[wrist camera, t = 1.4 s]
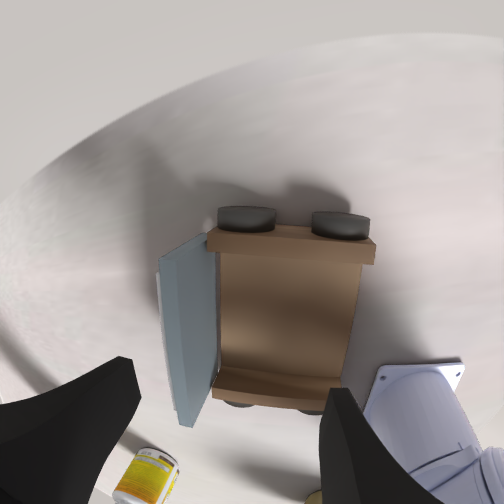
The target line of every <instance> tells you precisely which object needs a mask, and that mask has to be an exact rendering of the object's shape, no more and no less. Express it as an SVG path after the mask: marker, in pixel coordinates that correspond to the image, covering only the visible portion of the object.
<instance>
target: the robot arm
mask: <svg viewBox="0 0 504 504" xmlns="http://www.w3.org/2000/svg"><path fill="white" fill-rule="evenodd" d="M464 369H465V365H464V363H463V362H457V363H442V364H422V365H384V366H381V367H380V368H379V369H378V372H377V375H376V378H375V381H374V384H373V387H372V390H371V393H370V395H369V398H368V401H367V404H366V406H365V409H364V412H363V413H362V411H361V410H360V408H359V406H358V405H357V403H356V401H355V399H354V397H353V396H352V394H351V392H350V390H349V389H348V388H330V390H329V394H328V398H327V401H326V405H325V409H324V412H323V415H322V419H321V422H320V429H319V459H320V473H321V487H322V504H504V450H503V449H502V448H494V447H488V448H487V449H485V450H484V451H483V450H482V448H481V446H480V444H479V441H478V439H477V437H476V435H475V433H474V431H473V429H472V426H471V424H470V422H469V420H468V418H467V416H466V414H465V412H464V410H463V408H462V406H461V404H460V402H459V401H458V399H457V397H456V395H455V393H454V391H455V388H456V386H457V384H458V382H459V380H460V378H461V376H462V374H463V371H464ZM456 373H457V374H456ZM382 376H385V377H383V378H381V377H382ZM140 400H141V394H140V390H139V386H138V382H137V378H136V374H135V370H134V365H133V361H132V359H128V358H124V357H121V356H118V357H116V358H114V359H112V360H110V361H108V362H106V363H104V364H103V365H101V366H99V367H97V368H95V369H93V370H92V371H90V372H88V373H86V374H84V375H82V376H80V377H78V378H76V379H75V380H73V381H70V382H68V383H66V384H64V385H62V386H60V387H58V388H55V389H53V390H51V391H48V392H46V393H43V394H40V395H37V396H34V397H31V398H28V399H24V400H20V401H16V402H11V403H7V404H0V504H88V501H89V498H90V496H91V493H92V491H93V488H94V485H95V483H96V480H97V478H98V476H99V474H100V471H101V469H102V467H103V465H104V463H105V461H106V459H107V458H108V456H109V454H110V453H111V451H112V450H113V448H114V446H115V445H116V443H117V442H118V440H119V439H120V437H121V436H122V434H123V432H124V431H125V429H126V428H127V426H128V424H129V423H130V421H131V419H132V418H133V416H134V414H135V411H136V409H137V407H138V404H139V402H140Z"/></svg>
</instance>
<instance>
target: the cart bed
mask: <svg viewBox="0 0 504 504" xmlns="http://www.w3.org/2000/svg"><path fill="white" fill-rule="evenodd" d="M275 218H276V210H274V209H270V208H264V207H253V206H229V207H221V208H218V226H217V227H215V228H214V229H212V230H210V231H209V232H207V252H216V253H220V315H221V368H220V370H219V372H218V374H217V377H216V379H215V381H214V383H213V385H212V398H215V399H220V400H223V401H224V402H226V403H227V404H229V405H231V406H234V407H241V408H244V407H251V406H254V405H259V406H268V407H277V408H287V409H297V410H298V411H300V412H302V413H304V414H308V415H322V414H323V412H324V409H325V405H326V401H327V398H328V394H329V390H330V388H341V380H340V376H341V373H342V368H343V364H344V360H345V356H346V352H347V347H348V343H349V338H350V333H351V328H352V323H353V318H354V313H355V307H356V302H357V296H358V290H359V284H360V278H361V271H362V264H369V265H374V258H375V251H376V244H375V243H374V242H373V241H372V240H371V239H370V238H369V237H368V235H369V226H370V219H369V218H367V217H364V216H360V215H355V214H348V213H339V212H314V213H312V227H307V226H293V225H279V224H275Z"/></svg>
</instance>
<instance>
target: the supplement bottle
mask: <svg viewBox="0 0 504 504" xmlns="http://www.w3.org/2000/svg"><path fill="white" fill-rule="evenodd" d="M179 472H180V468H179V466H178V464H177V463H176V462H175V461H174V460H173V459H172V458H171V457H169V456H168V455H166V454H164V453H163V452H160V451H158V450H155V449H150V448H143V449H140V450H139V451H138V452H137V454H136V455H135V457H134V459H133V460H132V462H131V464H130V465H129V467H128V469H127V470H126V472H125V474H124V475H123V477H122V479H121V480H120V482H119V483H118V485H117V487H116V488H115V490H114V492H113V494H112V496H113V499H114V500H115V501H116V503H115V504H165V503H166V501H167V499H168V497H169V495H170V492H171V490H172V488H173V486H174V484H175V481H176V479H177V477H178V474H179Z"/></svg>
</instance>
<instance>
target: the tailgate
mask: <svg viewBox="0 0 504 504" xmlns="http://www.w3.org/2000/svg"><path fill="white" fill-rule="evenodd" d="M156 281H157V293H158V304H159V314H160V323H161V332H162V340H163V347H164V355H165V362H166V368H167V375H168V381H169V387H170V392H171V398H172V403H173V409H174V410H176V411H177V415H178V420H179V425H182V426H186V427H191V428H193V426H194V423H195V421H196V419H197V417H198V415H199V413H200V411H201V408H202V406H203V404H204V402H205V400H206V398H207V395H208V393H209V391H210V389H211V387H212V385H213V382H214V380H215V378H216V376H217V374H218V364H217V330H216V252H207V233H201V234H200V235H198V236H196V237H195V238H193V239H191V240H189V241H188V242H186V243H184V244H183V245H181V246H179V247H178V248H176V249H174V250H173V251H171V252H169V253H168V254H166V255H164V256H163V257H161V258H159V271H158V272H157V273H156Z"/></svg>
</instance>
